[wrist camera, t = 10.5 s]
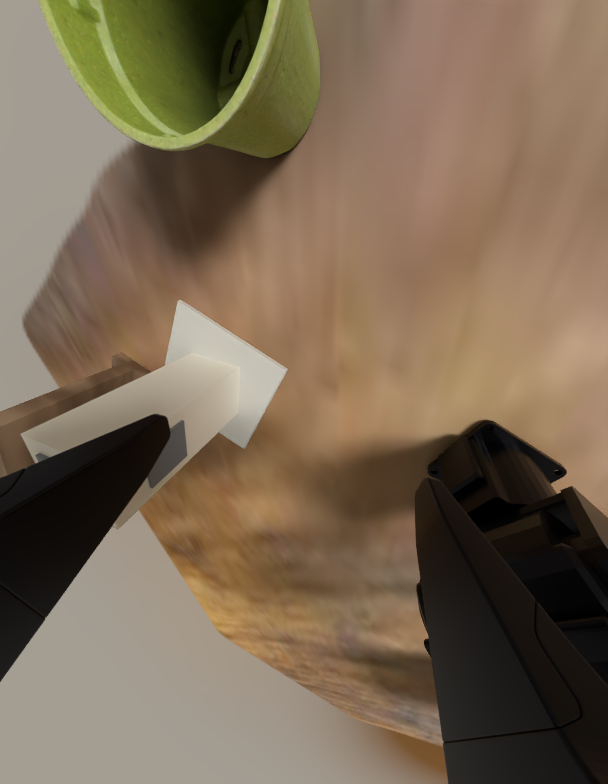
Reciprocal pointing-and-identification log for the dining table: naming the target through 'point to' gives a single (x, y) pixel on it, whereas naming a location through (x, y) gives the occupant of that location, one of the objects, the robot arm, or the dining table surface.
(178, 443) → the cream block grey panels
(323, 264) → the dining table surface
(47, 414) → the walnut screen
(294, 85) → the plant pot
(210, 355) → the felt pad
